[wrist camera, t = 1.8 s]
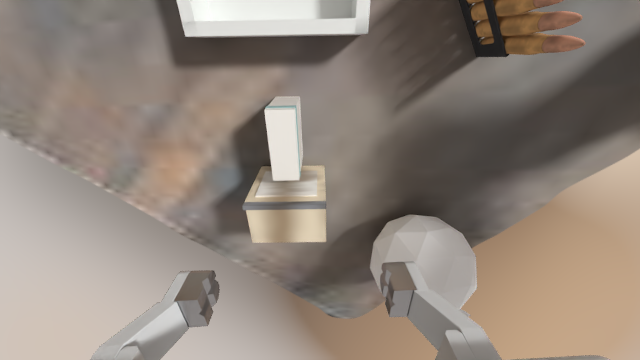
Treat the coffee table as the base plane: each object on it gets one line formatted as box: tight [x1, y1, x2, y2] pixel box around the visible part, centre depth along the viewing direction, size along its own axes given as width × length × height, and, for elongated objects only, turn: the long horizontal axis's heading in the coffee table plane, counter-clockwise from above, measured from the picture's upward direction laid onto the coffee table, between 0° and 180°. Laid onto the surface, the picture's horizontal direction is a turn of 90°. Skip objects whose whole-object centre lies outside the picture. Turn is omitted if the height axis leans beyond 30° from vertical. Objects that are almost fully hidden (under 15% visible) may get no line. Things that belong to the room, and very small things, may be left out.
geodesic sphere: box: [370, 215, 477, 317], centre depth 34 cm, size 15×14×14 cm
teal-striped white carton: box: [264, 96, 303, 181], centre depth 29 cm, size 3×8×7 cm, turn 1°
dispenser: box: [242, 166, 326, 243], centre depth 32 cm, size 9×6×10 cm
